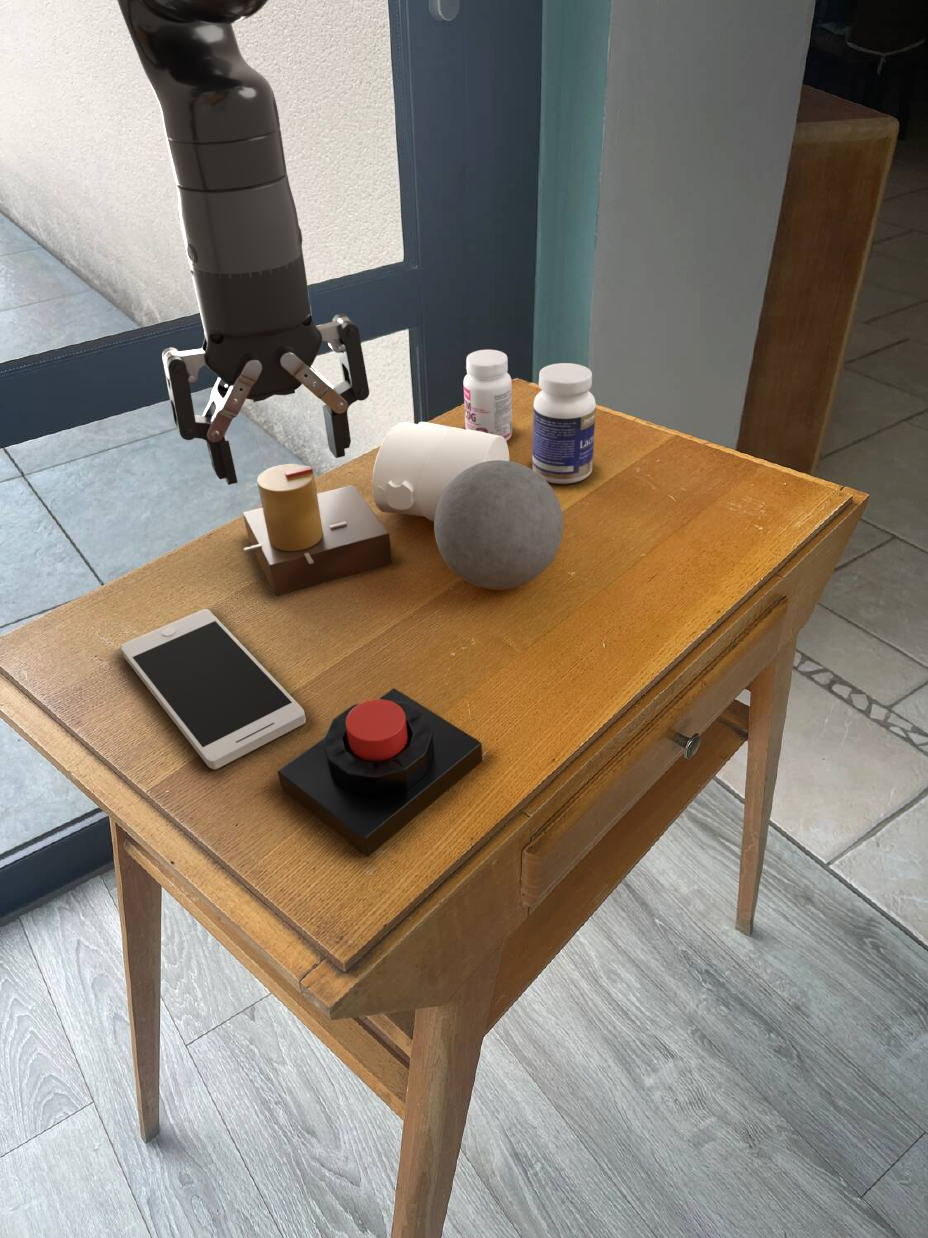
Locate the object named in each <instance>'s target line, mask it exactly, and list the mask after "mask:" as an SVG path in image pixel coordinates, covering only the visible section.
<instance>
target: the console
mask: <svg viewBox="0 0 928 1238" xmlns="http://www.w3.org/2000/svg"><path fill="white" fill-rule="evenodd" d="M317 497H318V504H319V510H320V517H321V523H322V529H323V536H322V538H321V540H320V541H319V542H318V543H317V544H315V545H313V546H312V547H309V548H307V549H303V550H299V551H283V550H279V549H276V548H275V547H273V546H272V545H271V544H270V542H269V539H268V534H267V528H266V523H265V518H264V513H263V508H262V507H258V508H254V509H250V510H247V511H242V516H243V520H244V525H245V529H246V535H247V539H248V542H249V544H250V545H249V546H246V547H243V551H244V552H249V551H253V552H254V555H255V556H256V559H257V560H258V563H259V564H260V567H261V569H262V570H263V573H264V574H265V576H266V578H267V581H268V583H269V584H270V587H271V589H272V590H273V593H274V595H275V596H281V595H285V594H288V593H291V592H295V591H299V590H301V589H306V588H309V587H312V586H317V585H320V584H323V583H327V582H331V581H335V580H337V579H341V578H345V577H348V576H352V575H356V574H359V573H362V572H366V571H369V570H373V569H377V568H380V567H384V566H387V565H391V564H393V557H392V556H393V555H392V547H391V538H390V532H389V531H388V529H387V528H386V527H385V525H384V524H383V523H382V521H381V520H380V519H379V517H378V516H377V514H376V513H375V512H374V510H373V509H372V508H371V506H370V505H369V503H367V501H366V500H365V498H364V497H363V496H362V494H361V493H360V491H359V490H358V489H357V487H356V486H355V485H354V484H351V485H348V486H347V485H346V486H342V487H338V488H335V489H331V490H326V491H323V492H317Z"/></svg>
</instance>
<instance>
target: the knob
mask: <svg viewBox="0 0 928 1238" xmlns="http://www.w3.org/2000/svg"><path fill="white" fill-rule="evenodd" d="M256 484H257V488H258V493H259V498H260V503H261V508H263V513H264V518H265V523H266V528H267V534H268V539H269V542H270V544H271V545H272V546H273V547H275V548H276V549H279V550H283V551H299V550H303V549H307V548H309V547H312V546H313V545H315V544H317V543H318V542H319V541H320V540H321V538H322V536H323V529H322V523H321V517H320V510H319V504H318V497H317V494H318V491H317V486H316V485H317V484H316V479H315V473H314V469H313V467H312V466H311V465H309V466H306V465H303V464H298V463H284V464H279V465H275V466H272V467H269V468H267V469H265V470H264V471H263V472H261V473H260V474H259V475H258V477H257V481H256Z"/></svg>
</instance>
